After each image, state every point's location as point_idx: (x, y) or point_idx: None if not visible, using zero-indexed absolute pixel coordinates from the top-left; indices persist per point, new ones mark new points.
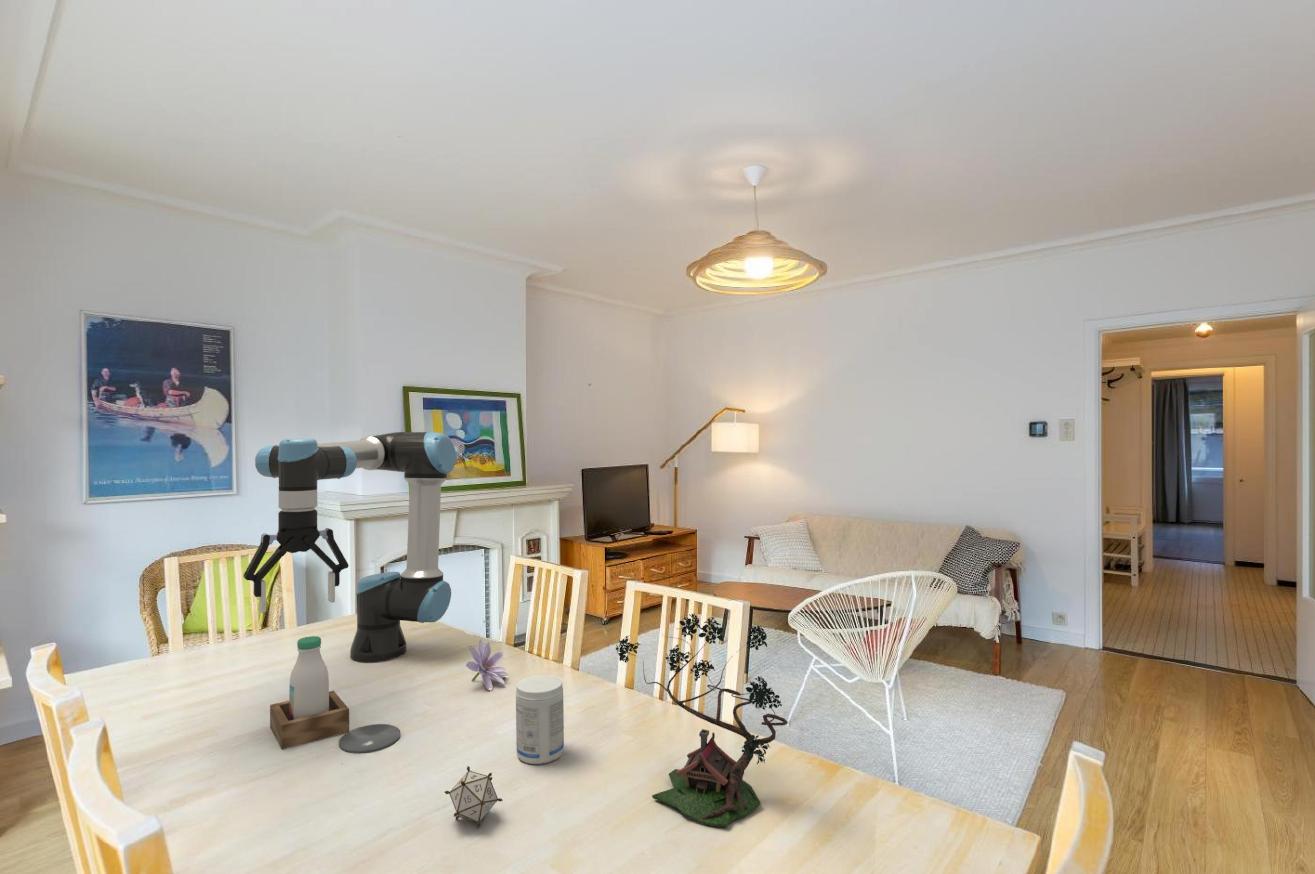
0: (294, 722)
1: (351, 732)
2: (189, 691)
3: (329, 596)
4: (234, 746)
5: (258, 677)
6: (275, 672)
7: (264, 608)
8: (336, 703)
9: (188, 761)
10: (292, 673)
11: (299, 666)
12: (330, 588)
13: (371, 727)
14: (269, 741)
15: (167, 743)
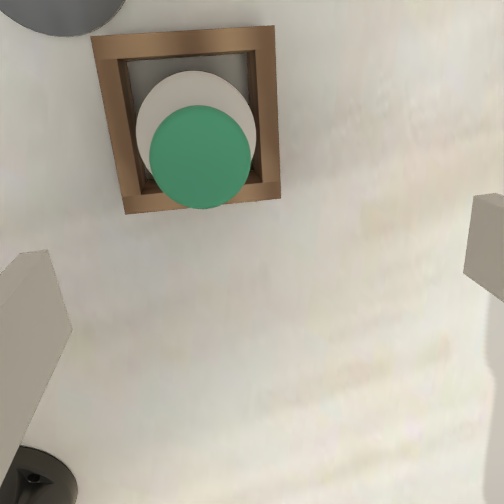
0: (242, 27)
1: (97, 11)
2: (371, 432)
3: (50, 314)
4: (345, 119)
5: (260, 451)
6: (228, 464)
7: (500, 202)
8: (124, 108)
9: (428, 93)
10: (253, 128)
11: (236, 112)
12: (13, 331)
13: (42, 13)
14: (280, 101)
15: (440, 210)
